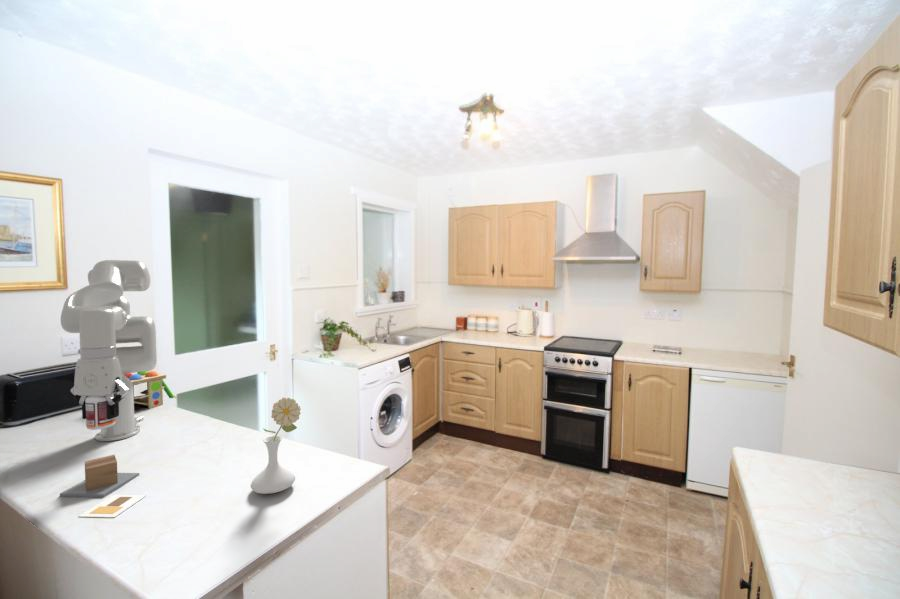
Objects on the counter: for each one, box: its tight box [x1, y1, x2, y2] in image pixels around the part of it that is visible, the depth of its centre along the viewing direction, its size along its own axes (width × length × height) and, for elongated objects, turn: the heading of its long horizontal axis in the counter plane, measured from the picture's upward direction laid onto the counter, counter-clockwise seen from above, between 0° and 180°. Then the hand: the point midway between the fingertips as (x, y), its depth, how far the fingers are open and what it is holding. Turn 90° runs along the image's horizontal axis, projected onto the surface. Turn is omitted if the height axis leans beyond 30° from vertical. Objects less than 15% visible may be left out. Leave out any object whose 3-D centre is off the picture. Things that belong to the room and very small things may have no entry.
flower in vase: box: [250, 397, 302, 495], centre depth 115 cm, size 13×11×25 cm
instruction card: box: [77, 494, 147, 519], centre depth 105 cm, size 10×9×1 cm
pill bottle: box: [85, 395, 115, 431], centre depth 115 cm, size 6×6×11 cm
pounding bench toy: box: [123, 370, 180, 409], centre depth 182 cm, size 23×14×18 cm, turn 155°
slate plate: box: [59, 472, 140, 498], centre depth 115 cm, size 12×12×1 cm
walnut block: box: [84, 454, 118, 491], centre depth 115 cm, size 6×6×6 cm
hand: (100, 416), depth 115 cm, fingers closed on pill bottle, 6 cm apart
